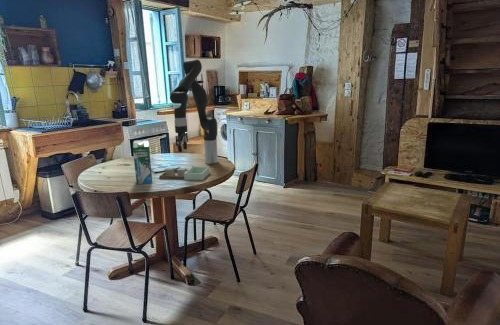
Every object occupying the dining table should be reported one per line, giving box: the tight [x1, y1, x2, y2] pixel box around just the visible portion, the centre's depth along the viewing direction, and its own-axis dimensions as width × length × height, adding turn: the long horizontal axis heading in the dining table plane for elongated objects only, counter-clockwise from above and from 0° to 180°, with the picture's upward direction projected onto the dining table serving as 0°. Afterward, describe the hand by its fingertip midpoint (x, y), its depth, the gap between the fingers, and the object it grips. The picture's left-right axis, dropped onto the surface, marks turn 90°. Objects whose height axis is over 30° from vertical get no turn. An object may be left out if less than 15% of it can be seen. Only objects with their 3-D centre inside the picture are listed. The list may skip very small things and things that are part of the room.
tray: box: [158, 168, 189, 180], centre depth 224 cm, size 16×16×2 cm
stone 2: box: [177, 167, 187, 176], centre depth 223 cm, size 4×4×4 cm
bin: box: [183, 166, 211, 181], centre depth 221 cm, size 16×12×5 cm
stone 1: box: [164, 167, 176, 176], centre depth 224 cm, size 4×4×4 cm
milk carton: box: [132, 140, 153, 186], centre depth 210 cm, size 9×9×25 cm
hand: (182, 150), depth 219 cm, fingers open, 8 cm apart
